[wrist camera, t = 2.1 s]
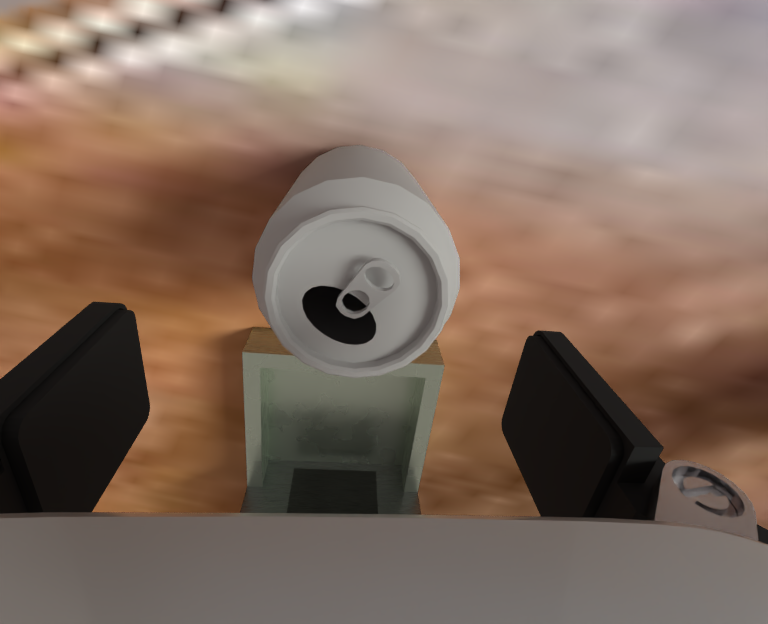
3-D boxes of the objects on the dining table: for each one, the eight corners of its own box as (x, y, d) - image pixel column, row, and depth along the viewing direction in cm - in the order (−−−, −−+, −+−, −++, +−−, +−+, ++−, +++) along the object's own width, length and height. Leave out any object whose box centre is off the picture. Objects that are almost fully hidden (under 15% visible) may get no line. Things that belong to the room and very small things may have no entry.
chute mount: (436, 340, 29) (458, 408, 23) (399, 528, 37) (408, 615, 31) (253, 326, 28) (223, 395, 21) (258, 524, 36) (237, 614, 30)
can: (265, 221, 25) (195, 320, 14) (345, 111, 22) (336, 129, 12) (366, 296, 27) (373, 428, 16) (449, 203, 25) (519, 288, 14)
